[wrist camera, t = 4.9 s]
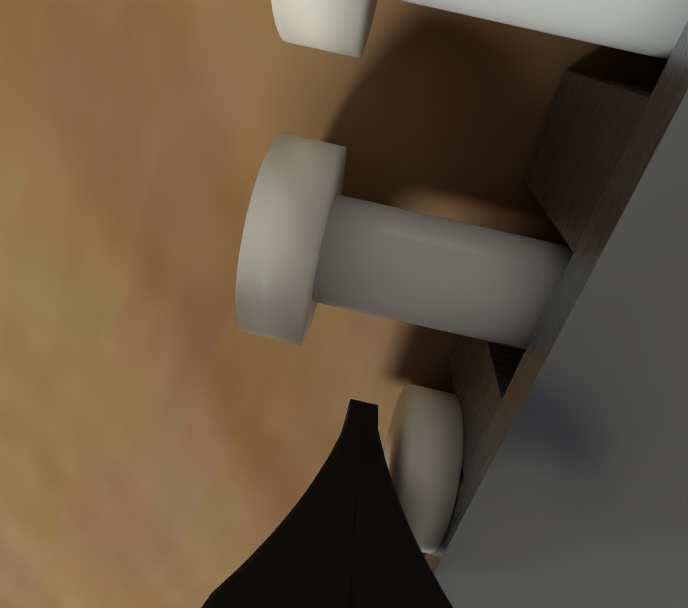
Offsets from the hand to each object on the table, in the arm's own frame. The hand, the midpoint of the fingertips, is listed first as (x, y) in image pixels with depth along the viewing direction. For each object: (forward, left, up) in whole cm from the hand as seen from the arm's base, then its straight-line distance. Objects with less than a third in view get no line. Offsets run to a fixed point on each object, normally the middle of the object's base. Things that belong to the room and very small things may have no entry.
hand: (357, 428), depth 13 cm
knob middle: (+5, -1, -1) cm, 6 cm away
